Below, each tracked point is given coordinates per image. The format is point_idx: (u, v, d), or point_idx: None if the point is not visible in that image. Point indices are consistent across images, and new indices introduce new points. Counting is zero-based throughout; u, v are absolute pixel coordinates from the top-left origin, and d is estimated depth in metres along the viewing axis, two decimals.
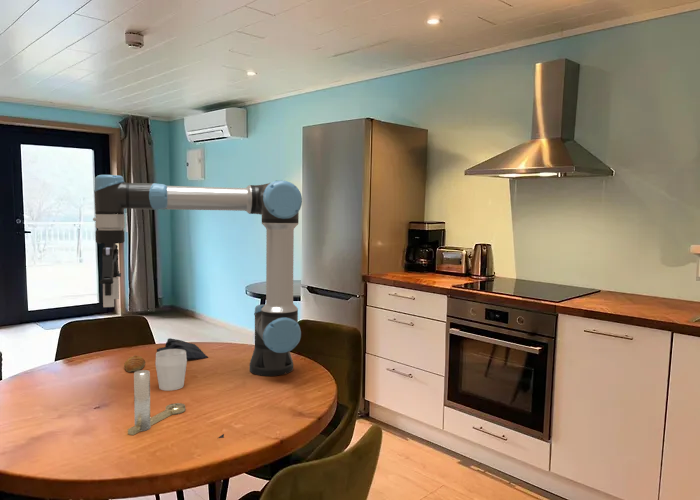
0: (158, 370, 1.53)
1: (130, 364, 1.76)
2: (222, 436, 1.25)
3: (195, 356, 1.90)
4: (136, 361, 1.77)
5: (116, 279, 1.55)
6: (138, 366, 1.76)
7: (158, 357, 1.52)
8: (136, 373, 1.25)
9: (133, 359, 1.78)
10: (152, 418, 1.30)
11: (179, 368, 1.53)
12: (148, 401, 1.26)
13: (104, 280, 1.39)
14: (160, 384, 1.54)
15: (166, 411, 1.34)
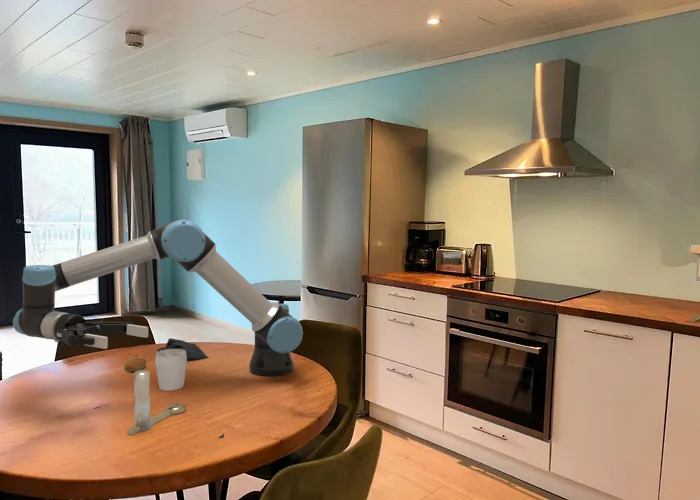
0: (158, 370, 1.53)
1: (131, 364, 1.76)
2: (222, 436, 1.25)
3: (195, 357, 1.90)
4: (137, 361, 1.78)
5: (128, 326, 1.38)
6: (139, 366, 1.76)
7: (158, 357, 1.52)
8: (136, 373, 1.25)
9: (134, 359, 1.79)
10: (152, 418, 1.30)
11: (179, 368, 1.53)
12: (148, 401, 1.26)
13: (70, 343, 1.23)
14: (160, 384, 1.54)
15: (166, 411, 1.34)
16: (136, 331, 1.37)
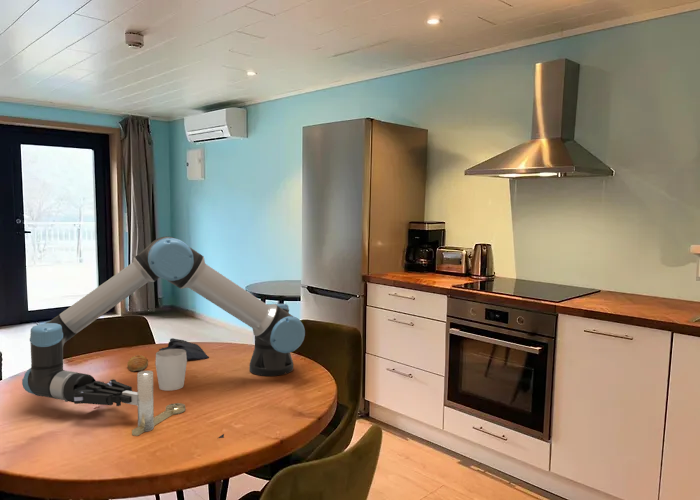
0: (158, 370, 1.53)
1: (134, 363, 1.76)
2: (222, 436, 1.25)
3: (196, 357, 1.89)
4: (140, 360, 1.78)
5: None
6: (142, 365, 1.76)
7: (158, 357, 1.52)
8: (139, 374, 1.24)
9: (136, 358, 1.79)
10: (154, 418, 1.29)
11: (179, 368, 1.53)
12: (152, 401, 1.25)
13: (110, 402, 1.27)
14: (160, 384, 1.54)
15: (167, 411, 1.34)
16: None
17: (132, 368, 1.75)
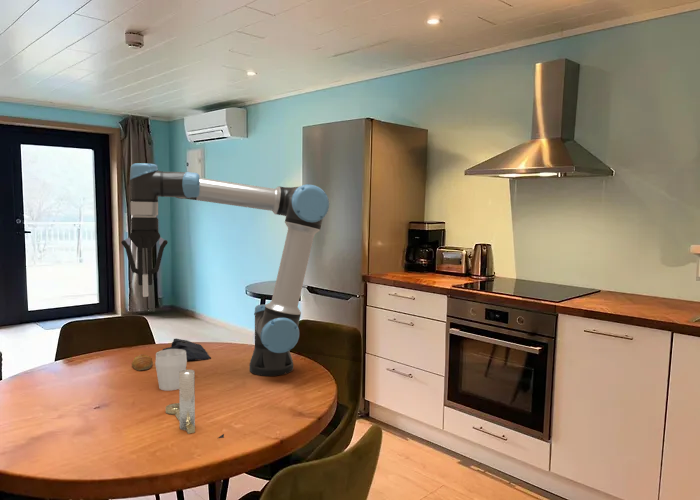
0: (158, 370, 1.53)
1: (140, 363, 1.77)
2: (222, 436, 1.25)
3: (197, 357, 1.89)
4: (145, 359, 1.79)
5: None
6: (148, 364, 1.78)
7: (158, 357, 1.52)
8: (185, 373, 1.25)
9: (141, 358, 1.80)
10: None
11: (179, 368, 1.53)
12: None
13: None
14: (160, 384, 1.54)
15: (179, 411, 1.35)
16: None
17: (138, 367, 1.76)
